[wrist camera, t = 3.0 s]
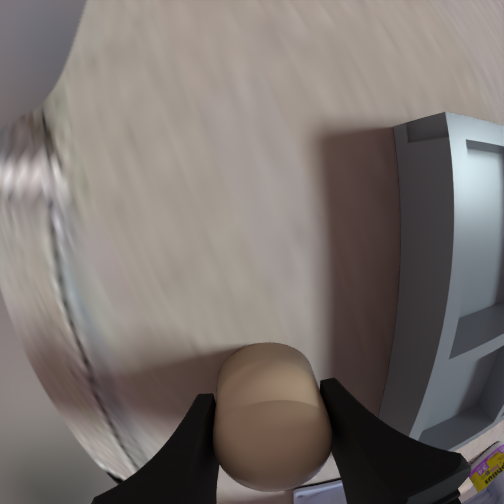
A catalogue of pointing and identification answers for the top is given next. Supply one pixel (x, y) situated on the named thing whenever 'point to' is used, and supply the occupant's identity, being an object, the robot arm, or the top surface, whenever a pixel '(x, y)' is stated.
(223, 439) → the beige rounded peg
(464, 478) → the robot arm
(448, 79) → the top surface
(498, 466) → the supplement bottle
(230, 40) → the top surface
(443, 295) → the grey compartment tray
